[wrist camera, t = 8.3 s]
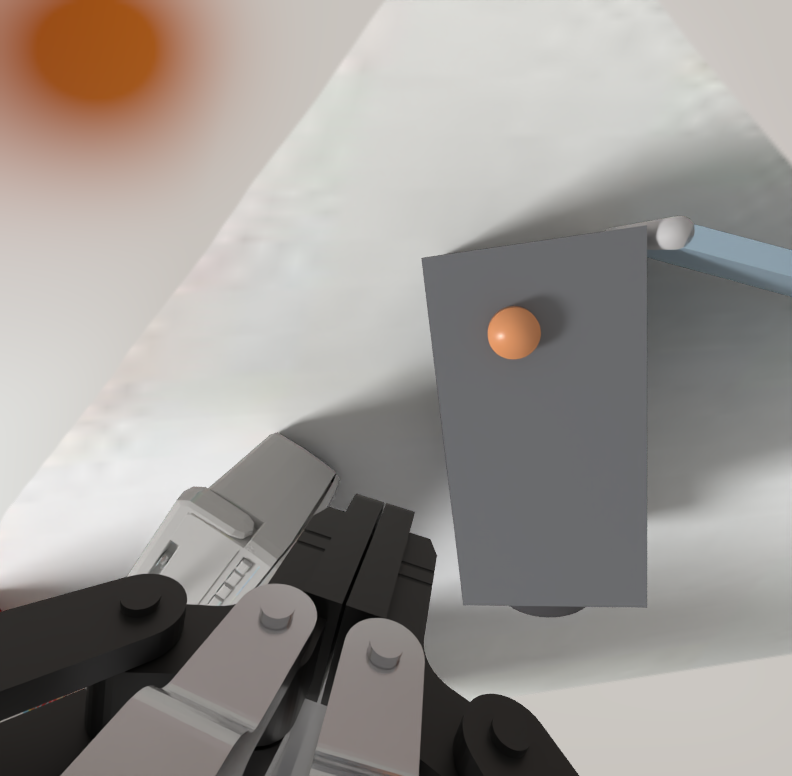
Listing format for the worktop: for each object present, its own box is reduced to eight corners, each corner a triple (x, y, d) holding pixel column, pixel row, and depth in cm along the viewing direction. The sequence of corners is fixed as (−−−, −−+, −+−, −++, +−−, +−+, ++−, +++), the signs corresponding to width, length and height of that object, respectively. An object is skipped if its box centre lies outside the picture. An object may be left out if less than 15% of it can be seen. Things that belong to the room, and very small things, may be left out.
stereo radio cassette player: (236, 612, 47) (71, 854, 28) (171, 563, 47) (-40, 775, 28) (351, 472, 40) (234, 668, 21) (275, 414, 40) (88, 560, 21)
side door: (885, 289, 29) (1113, 312, 18) (866, 321, 29) (1076, 359, 19) (608, 215, 30) (674, 197, 20) (596, 246, 31) (653, 244, 20)
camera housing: (597, 530, 38) (652, 666, 25) (472, 533, 40) (467, 659, 27) (588, 234, 32) (654, 223, 19) (442, 255, 34) (418, 258, 21)
